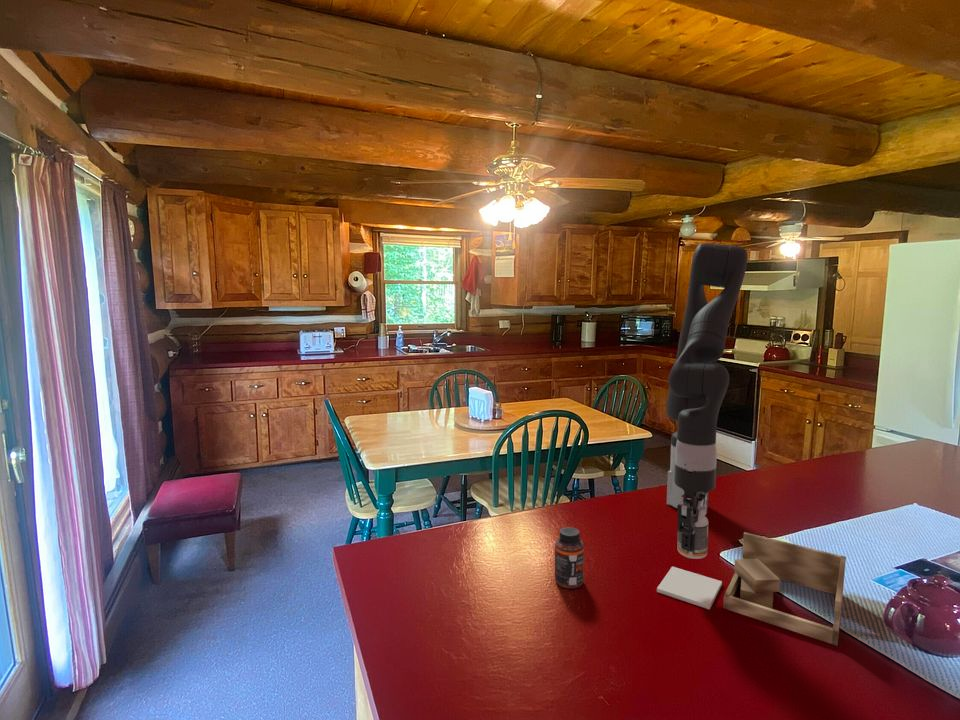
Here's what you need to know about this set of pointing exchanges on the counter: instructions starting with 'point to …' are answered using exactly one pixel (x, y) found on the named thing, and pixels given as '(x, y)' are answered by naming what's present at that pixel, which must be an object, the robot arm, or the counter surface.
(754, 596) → the offcut block lower
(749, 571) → the offcut block upper
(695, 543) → the pill bottle
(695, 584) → the tile
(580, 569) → the supplement bottle
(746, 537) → the wooden box frame
